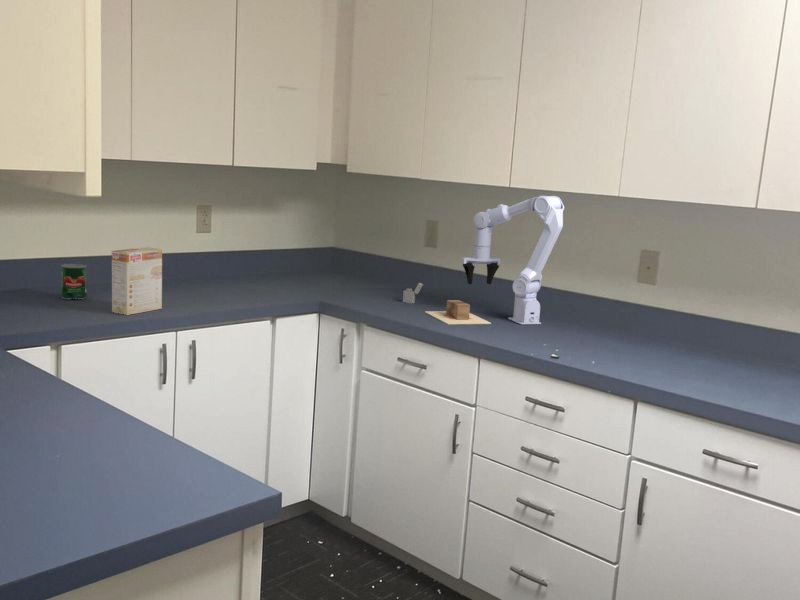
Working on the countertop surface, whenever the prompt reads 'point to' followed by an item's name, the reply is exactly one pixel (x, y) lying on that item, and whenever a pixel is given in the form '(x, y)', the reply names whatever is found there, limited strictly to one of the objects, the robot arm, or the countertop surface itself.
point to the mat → (450, 320)
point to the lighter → (411, 294)
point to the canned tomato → (73, 281)
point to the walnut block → (458, 309)
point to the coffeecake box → (136, 280)
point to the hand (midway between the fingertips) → (479, 283)
